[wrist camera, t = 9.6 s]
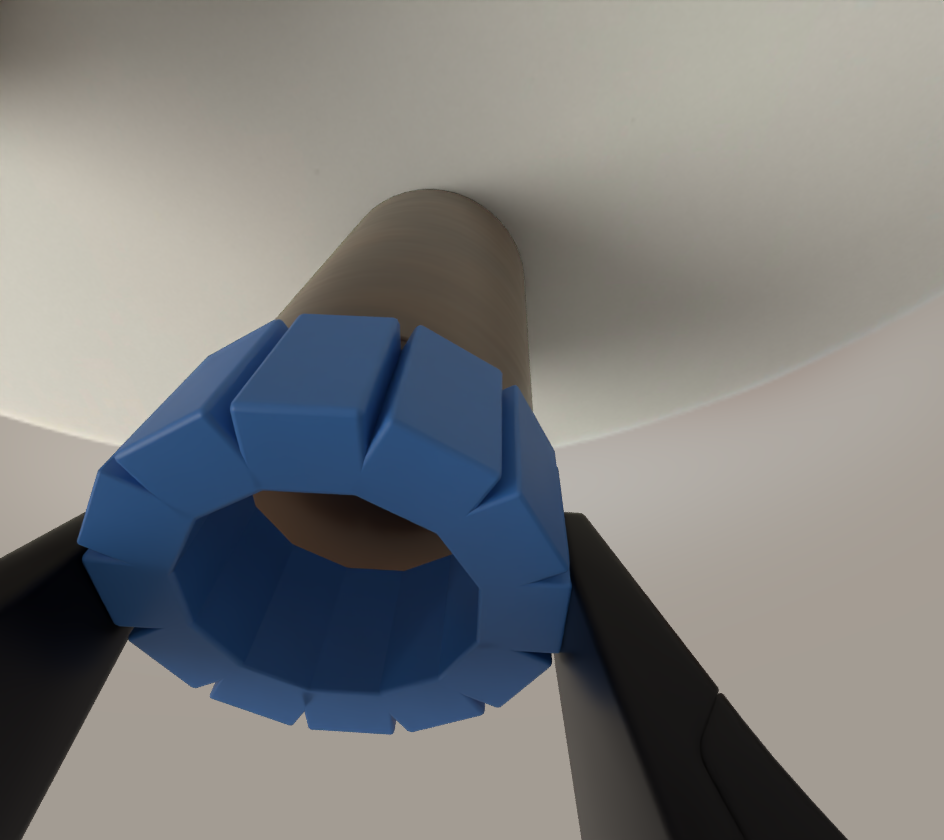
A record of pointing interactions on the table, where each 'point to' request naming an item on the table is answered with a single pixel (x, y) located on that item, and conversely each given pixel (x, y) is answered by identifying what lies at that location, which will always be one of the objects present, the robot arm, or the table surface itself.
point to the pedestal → (413, 303)
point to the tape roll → (314, 577)
